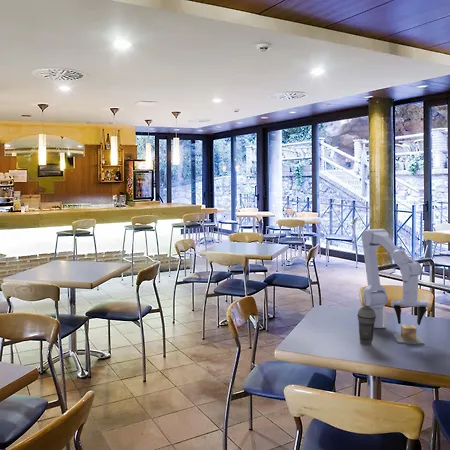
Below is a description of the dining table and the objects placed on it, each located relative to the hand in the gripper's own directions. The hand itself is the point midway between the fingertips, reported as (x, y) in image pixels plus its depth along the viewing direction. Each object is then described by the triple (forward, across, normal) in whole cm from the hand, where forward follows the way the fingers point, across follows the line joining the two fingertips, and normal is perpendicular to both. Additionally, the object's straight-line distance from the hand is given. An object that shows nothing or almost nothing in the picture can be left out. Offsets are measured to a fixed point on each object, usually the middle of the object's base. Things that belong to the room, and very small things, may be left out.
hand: (408, 323), depth 193 cm
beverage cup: (+7, -18, -8) cm, 21 cm away
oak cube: (+6, 0, 0) cm, 6 cm away
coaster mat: (+7, 0, 0) cm, 7 cm away
